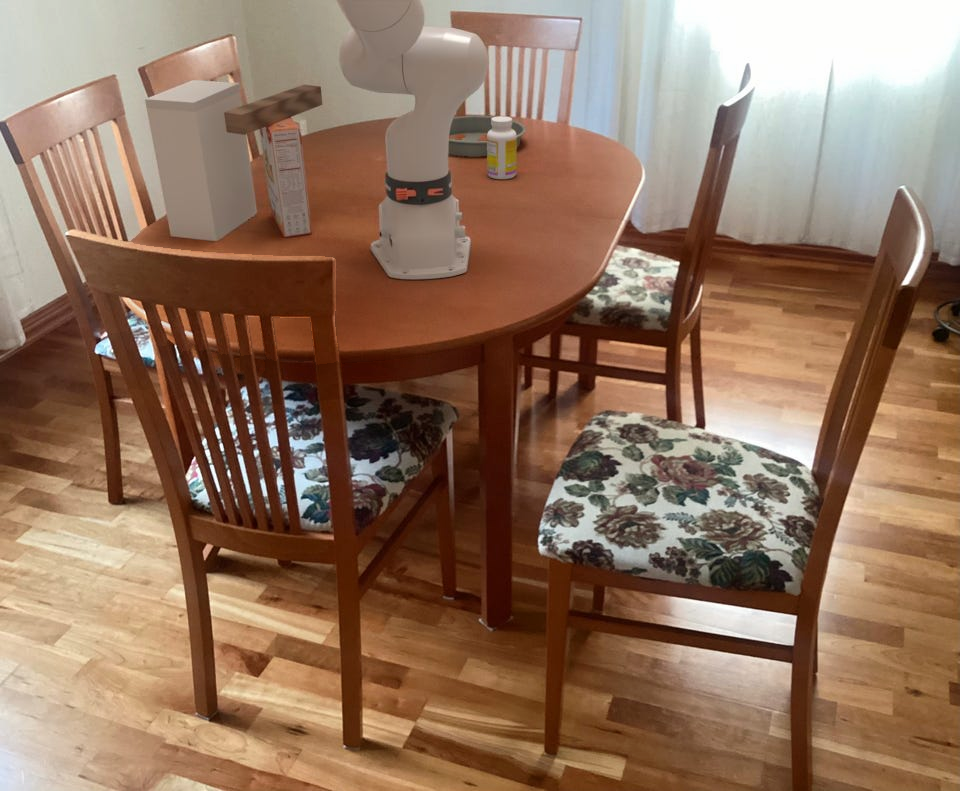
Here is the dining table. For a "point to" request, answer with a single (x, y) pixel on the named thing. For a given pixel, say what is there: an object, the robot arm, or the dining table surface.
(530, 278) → the dining table surface
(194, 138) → the grey pedestal
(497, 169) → the supplement bottle
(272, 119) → the walnut bar
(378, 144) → the dining table surface
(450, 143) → the cake pan
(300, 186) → the cracker box
